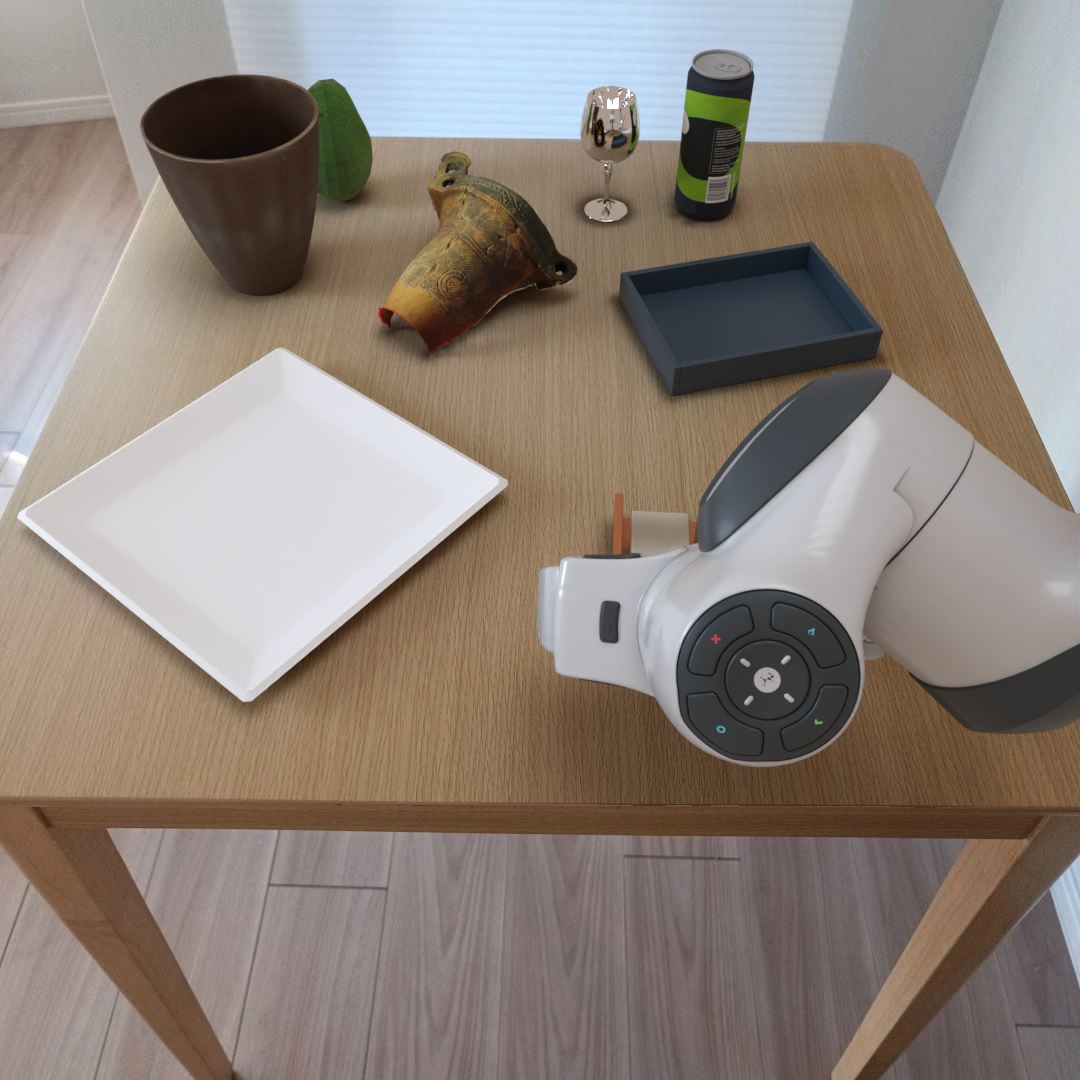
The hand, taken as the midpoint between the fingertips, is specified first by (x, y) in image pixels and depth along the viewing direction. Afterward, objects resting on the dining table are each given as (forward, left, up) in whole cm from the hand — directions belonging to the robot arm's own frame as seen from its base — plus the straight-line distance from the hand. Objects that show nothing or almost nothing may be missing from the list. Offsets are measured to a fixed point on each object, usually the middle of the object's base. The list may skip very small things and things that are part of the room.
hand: (697, 598), depth 71 cm
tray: (-18, -33, -6) cm, 38 cm away
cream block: (0, -7, -5) cm, 8 cm away
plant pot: (+23, -53, -6) cm, 58 cm away
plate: (+26, -21, -6) cm, 34 cm away
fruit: (+14, -65, -6) cm, 66 cm away
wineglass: (-12, -55, -6) cm, 56 cm away
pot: (+4, -45, -6) cm, 45 cm away
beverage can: (-22, -53, -6) cm, 57 cm away
